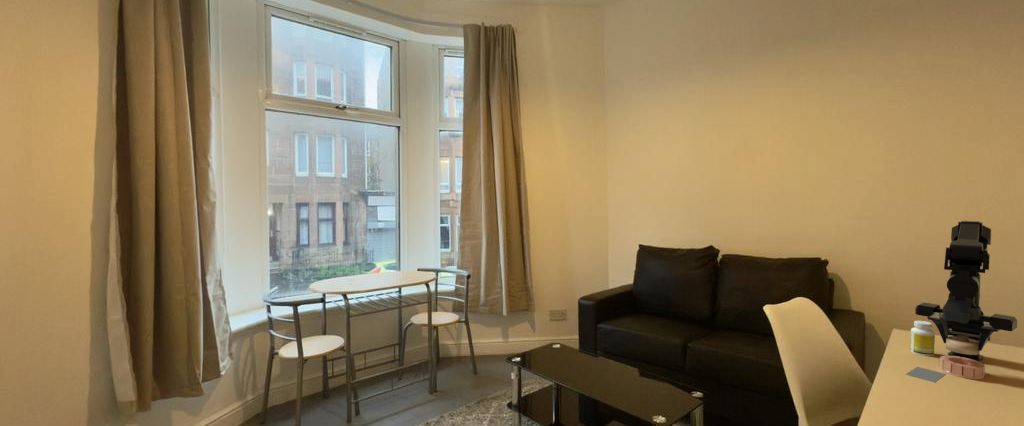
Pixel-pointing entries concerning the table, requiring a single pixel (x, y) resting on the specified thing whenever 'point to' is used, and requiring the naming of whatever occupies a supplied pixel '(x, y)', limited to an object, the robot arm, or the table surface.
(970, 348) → the lid
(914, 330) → the supplement bottle
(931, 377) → the mat
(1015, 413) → the table surface
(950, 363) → the pink notched ring
